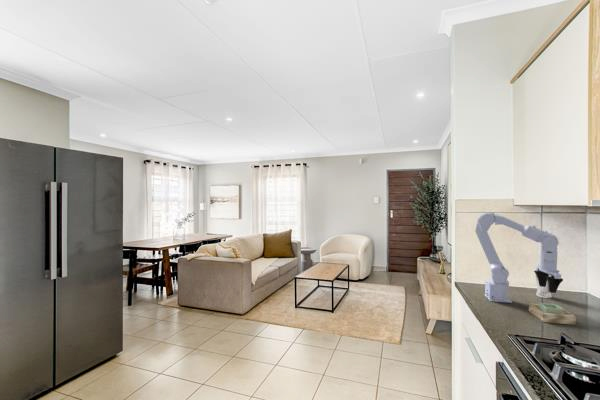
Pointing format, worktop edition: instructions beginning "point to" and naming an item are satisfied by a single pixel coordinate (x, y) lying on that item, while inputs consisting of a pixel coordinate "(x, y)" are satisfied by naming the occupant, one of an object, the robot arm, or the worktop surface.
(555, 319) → the wooden tray
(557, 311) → the small crate
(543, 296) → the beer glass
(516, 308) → the worktop surface
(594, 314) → the worktop surface
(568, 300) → the worktop surface
